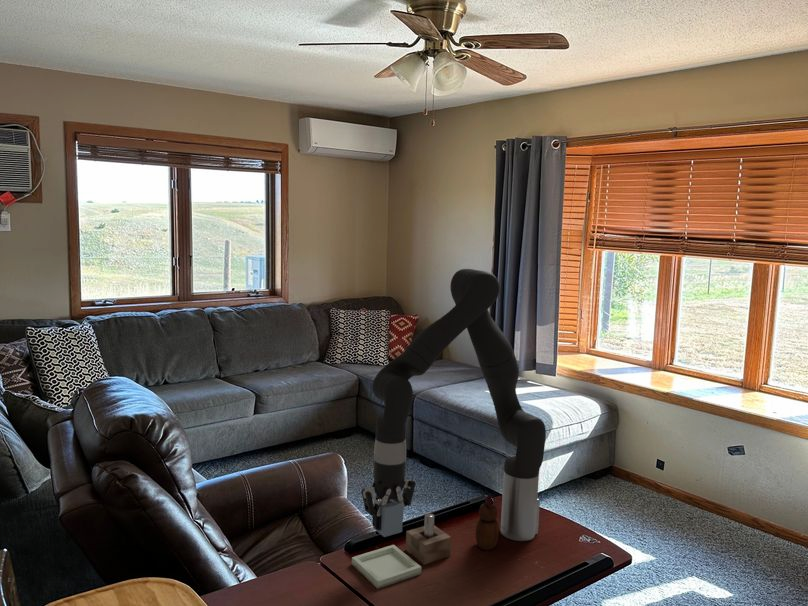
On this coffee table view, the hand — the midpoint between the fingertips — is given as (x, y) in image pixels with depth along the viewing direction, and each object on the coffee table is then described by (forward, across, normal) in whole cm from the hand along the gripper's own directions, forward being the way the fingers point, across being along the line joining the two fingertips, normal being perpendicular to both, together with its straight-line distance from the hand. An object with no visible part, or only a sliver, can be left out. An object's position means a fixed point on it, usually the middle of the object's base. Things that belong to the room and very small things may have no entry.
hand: (387, 526), depth 151 cm
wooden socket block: (+11, +13, +1) cm, 17 cm away
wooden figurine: (+11, +28, -4) cm, 30 cm away
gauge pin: (+11, +13, +1) cm, 17 cm away
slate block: (+1, 0, 0) cm, 1 cm away
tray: (+11, 0, 0) cm, 11 cm away
